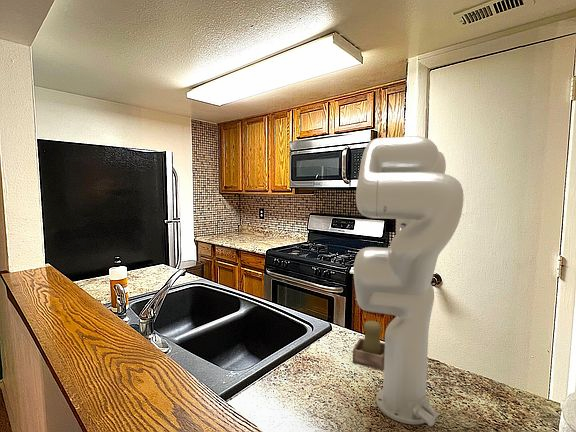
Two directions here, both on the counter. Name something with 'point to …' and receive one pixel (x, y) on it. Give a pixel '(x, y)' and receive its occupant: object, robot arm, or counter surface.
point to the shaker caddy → (368, 356)
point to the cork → (372, 337)
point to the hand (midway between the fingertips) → (404, 256)
